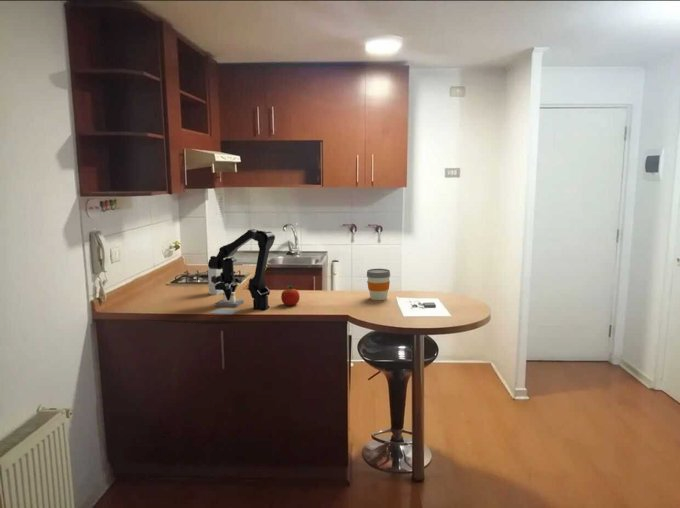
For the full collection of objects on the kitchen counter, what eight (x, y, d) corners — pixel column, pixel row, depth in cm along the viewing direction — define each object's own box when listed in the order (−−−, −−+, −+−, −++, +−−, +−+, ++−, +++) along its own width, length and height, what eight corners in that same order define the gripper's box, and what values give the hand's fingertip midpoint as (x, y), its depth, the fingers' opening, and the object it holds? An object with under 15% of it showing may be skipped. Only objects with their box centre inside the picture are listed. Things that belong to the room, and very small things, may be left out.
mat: (239, 310, 250) (239, 309, 250) (232, 315, 242) (232, 314, 242) (217, 309, 253) (217, 308, 253) (209, 313, 246) (209, 312, 245)
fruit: (283, 307, 254) (282, 288, 253) (280, 303, 263) (279, 284, 262) (301, 306, 257) (301, 287, 255) (298, 301, 266) (297, 283, 264)
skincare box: (219, 291, 293) (217, 265, 291) (227, 292, 290) (226, 265, 287) (208, 294, 286) (206, 267, 284) (217, 295, 283) (215, 268, 280)
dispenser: (243, 303, 264) (243, 299, 263) (236, 307, 256) (236, 303, 255) (223, 302, 267) (222, 298, 266) (215, 306, 259) (215, 301, 259)
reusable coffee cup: (363, 299, 268) (362, 272, 265) (372, 294, 279) (372, 267, 276) (384, 302, 262) (384, 273, 260) (393, 296, 273) (393, 269, 271)
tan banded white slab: (236, 304, 261) (235, 292, 260) (234, 305, 259) (233, 293, 258) (225, 303, 263) (224, 291, 262) (223, 304, 261) (222, 292, 260)
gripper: (222, 266, 269) (224, 294, 272) (204, 273, 251) (206, 303, 254) (241, 266, 266) (242, 295, 269) (224, 273, 249) (226, 304, 251)
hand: (229, 299), depth 261 cm, fingers closed on tan banded white slab, 2 cm apart
